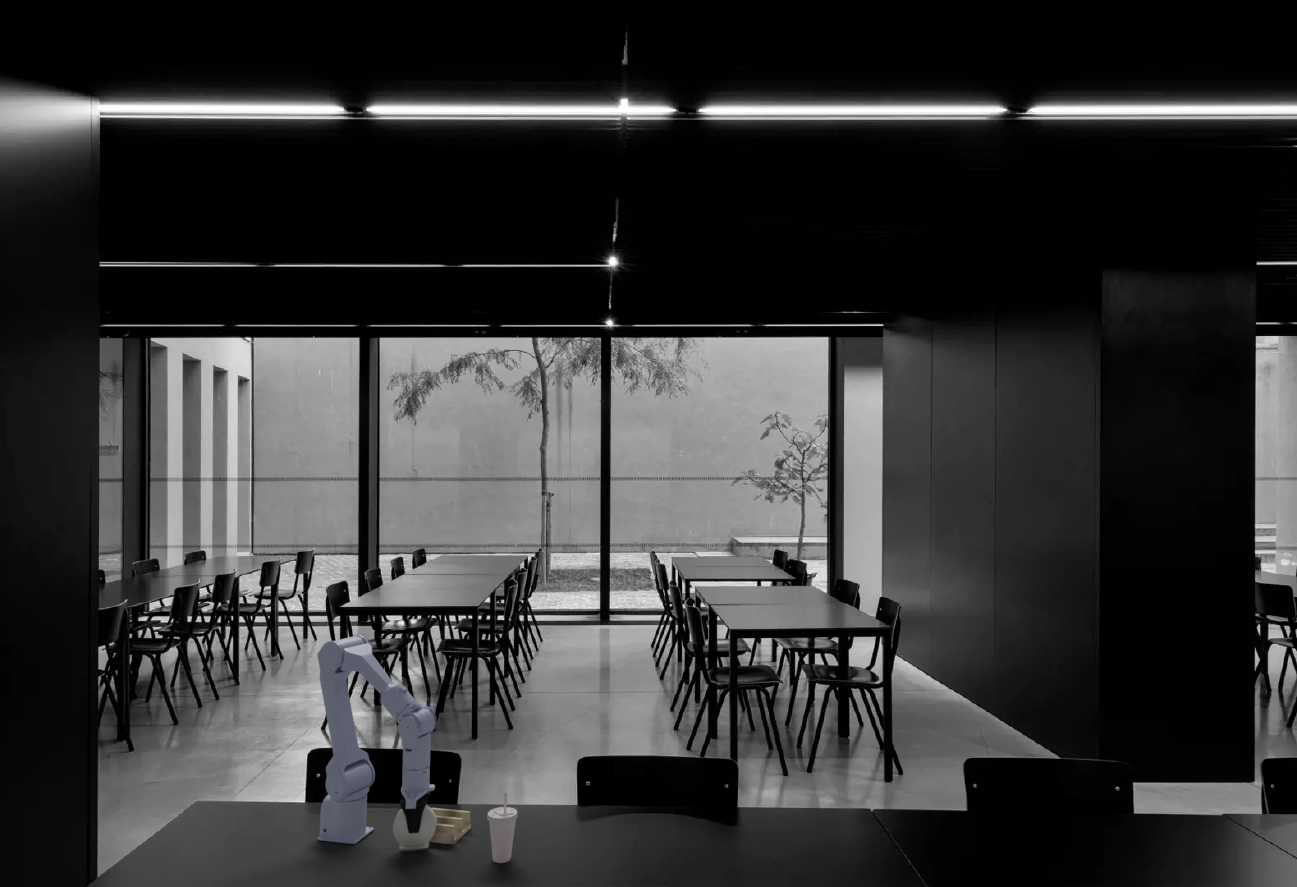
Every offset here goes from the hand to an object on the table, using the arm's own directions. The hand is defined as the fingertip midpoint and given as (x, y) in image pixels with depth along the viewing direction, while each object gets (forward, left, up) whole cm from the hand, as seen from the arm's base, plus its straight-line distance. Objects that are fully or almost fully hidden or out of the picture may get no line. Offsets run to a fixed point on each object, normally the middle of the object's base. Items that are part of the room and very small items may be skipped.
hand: (414, 830), depth 176 cm
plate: (0, 0, -4) cm, 3 cm away
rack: (+2, +9, -4) cm, 10 cm away
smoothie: (+20, 0, -5) cm, 21 cm away
